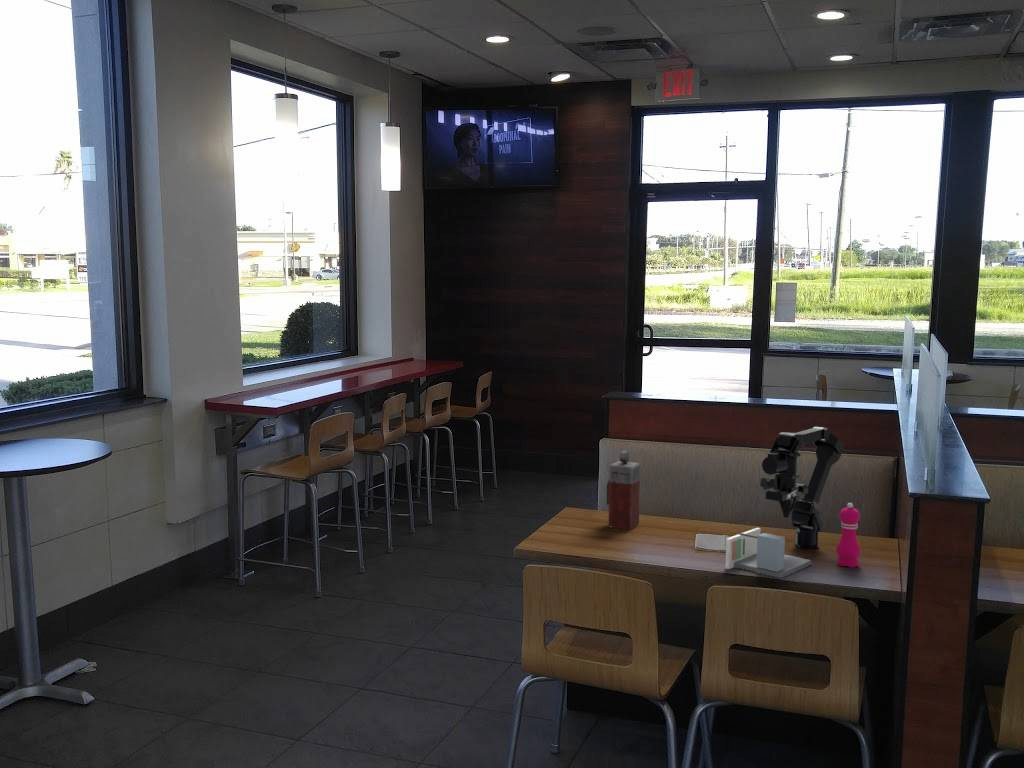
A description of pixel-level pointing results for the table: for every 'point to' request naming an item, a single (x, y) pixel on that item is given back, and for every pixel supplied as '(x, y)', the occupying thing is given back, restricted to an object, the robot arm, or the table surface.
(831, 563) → the table surface
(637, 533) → the table surface
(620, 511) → the red square canister
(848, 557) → the pepper mill
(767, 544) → the gauge carriage
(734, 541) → the gauge stand
